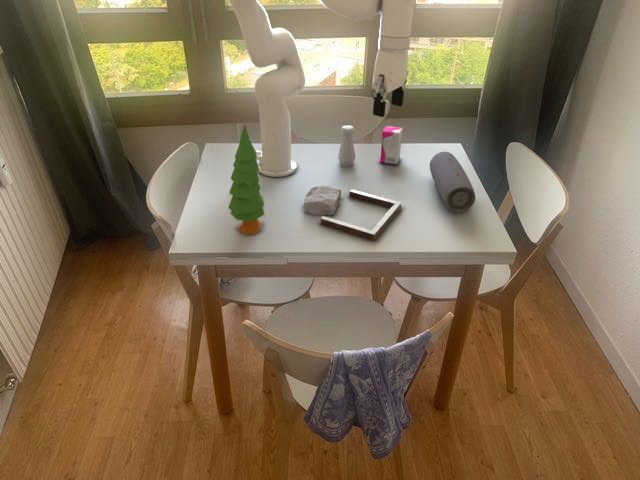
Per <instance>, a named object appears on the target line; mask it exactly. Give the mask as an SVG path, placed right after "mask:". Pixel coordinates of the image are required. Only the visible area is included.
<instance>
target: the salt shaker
mask: <svg viewBox="0 0 640 480" xmlns="http://www.w3.org/2000/svg"><path fill="white" fill-rule="evenodd" d="M340 129H341V130H340V133H341V135H342V137H341V141H340V146H339V151H338V156H337V159H338V162H339V164H340V165H341V166H343V167H351V166H353V164H354V162H355V160H356V151H355V145H354V138H353V136H354V134H355V128H354V126H352V125H343V126H341V128H340Z"/></svg>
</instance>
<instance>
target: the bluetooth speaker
mask: <svg viewBox="0 0 640 480" xmlns="http://www.w3.org/2000/svg"><path fill="white" fill-rule="evenodd" d="M429 171H430V174H431V178H432V180H433V183H434V186H435V188H436V190H437V192H438V194H439V197H440V198H441V200H442V201H443V203H444V204H445V206H446V208H447V209H448V210H450V211H451V212H454V213H462V212H466V211H468V210H469V209H471V208H472V207H473V206H474V204H475V202H476V193H475V189H474V187H473V185H472V182H471V181H470V178H469V177H468V175H467V173H466V172H465V170H464V168H463V166H462V165H461V163H460V161H459V160H458V159H457V157H456V156H454V154H453V153H451V152H449V151H440V152H437V153H436V154H434V155H433V157H431V159H430V161H429Z"/></svg>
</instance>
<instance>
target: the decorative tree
mask: <svg viewBox="0 0 640 480" xmlns="http://www.w3.org/2000/svg"><path fill="white" fill-rule="evenodd" d="M256 151H257V150H256V149H255V147H254V145H253V144H252V141H251V139H250V136H249V133H248V129H247V125H246V124H243V128H242V131H241V133H240V139H239V144H238V147H237V149H236V152H235V155H234V161H233V164H232V167H233V170H232V174H231V176H230V180H231V181H232V184H231V187H230V189H229V192H228V194H230V195H231V199H230V202H229V204H228V206H227V209H229V211H230V215H231V216H232V217H233V218H234V219H235V220H237V221H242V223H241V224H240V225H239V227H238V228H237V229H238V230H239V232H241V233H242V234H243V235H244V236H245V235H254V234H257V233H259V232H261V228H262V223H261V222H260V220H259V219H260V218H261V217H263V216H265V215H266V214H265V199H264V196H263V194H262V193H261V192H260V191H261V189H262V185H261V183H260V177H259V173H258V172H259V168H258V165H259V163H258V160H256V157H257V154H256Z"/></svg>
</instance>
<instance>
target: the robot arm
mask: <svg viewBox="0 0 640 480" xmlns="http://www.w3.org/2000/svg"><path fill="white" fill-rule="evenodd" d="M318 1H319V2H320V3H321V4H322V5H323V6H324V7H325V8H326V9H328V10H330V11H331V12H334V13H335V14H337V15H339V16H341V17H343V18H345V19H347V20H353V21H361V20H364V19H368V18H370V17H375V16H378V15H380V22H379V37H378V47H377V48H378V50H377V53H376V57H375V62H374V68H373V75H372V76H373V77H372V85H371V96H372V101H373V107H372V115H373V116H376V117H380V118H384V117H385V116H386V104H387V101H385V100H386V98H387V95H388V94H389V93H391V100H390V101H391V102H390V103H391V105H392V106H396V107H402V106H403V105H404V97H405V91H406V84H407V81H408V76H409V70H408V63H409V50H410V45H411V44H410V43H411V37H412V36H411V35H412V27H413V19H414V17H413V16H414V10H415V2H416V1H415V0H318ZM229 3H230V5H231V8H232V10H233V12H234V14H235V16H236V20H237V22H238V25H239V28H240V31H241V35H242V39H243V42H244V45H245V48H246V51H247V55H248V58H249V59H250V62H251V64H252V65H253V66H255V67H256V68H259V69H262V68H267V67H270V66H274V65H275V68H274V69H271V70H269V71H266V72H264V73H262V74H261V75H259V76H258V77H257V79H256V80H255V83H254V87H253V90H254V96H255V100H256V103H257V109H258V116H259V117H258V118H259V129H260V144H261V145H260V146H261V150H255V151H256V154H257V157H256V160H257V161H259V163H258V168H259V170H258V172H259V173H260V174H262V175H263V176H266V177H271V178H281V177H287V176H290V175H292V174H293V173H295V172H296V170H297V163H296V162H295V161H294V160H292V133H291V132H292V131H291V129H292V128H291V127H292V126H291V114H290V111H289V108H288V107H287V104H286V101H288V100H290V99H291V98H294V97H296V96H298V95H299V94H301V93H302V92H303V91H304V89H305V85H306V78H305V77H306V75H305V71H304V68H303V64H302V60H301V56H300V53H299V49H298V45H297V43H296V40H295V38H294V36H293V35H292V34H291V32H290V31H288V30H287V29H286V28H283V27H275V28H272V26H271V22H270V19H269V16H268V13H267V11H266V9H265V8H264V6H263V5H262V3H261V2H260V1H259V0H229ZM381 93H382V94H381Z"/></svg>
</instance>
